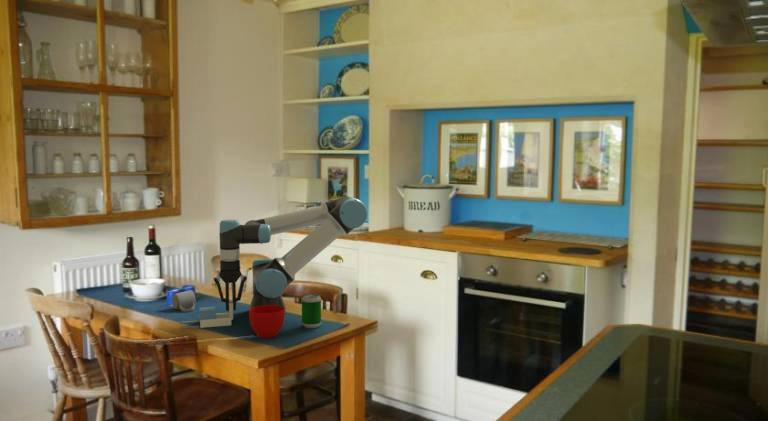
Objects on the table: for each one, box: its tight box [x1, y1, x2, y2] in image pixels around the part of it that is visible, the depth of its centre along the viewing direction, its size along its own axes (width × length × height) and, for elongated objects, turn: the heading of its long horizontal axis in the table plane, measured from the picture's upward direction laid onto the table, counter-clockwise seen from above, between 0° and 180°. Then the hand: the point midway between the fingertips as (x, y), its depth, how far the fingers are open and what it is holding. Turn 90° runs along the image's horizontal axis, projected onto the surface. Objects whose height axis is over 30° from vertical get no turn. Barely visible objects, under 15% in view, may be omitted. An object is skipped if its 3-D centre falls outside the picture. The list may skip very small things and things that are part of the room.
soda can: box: [301, 293, 322, 329], centre depth 246 cm, size 8×8×12 cm
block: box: [199, 306, 217, 321], centre depth 246 cm, size 6×6×6 cm
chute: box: [180, 312, 232, 330], centre depth 246 cm, size 18×10×4 cm, turn 107°
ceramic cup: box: [248, 305, 286, 339], centre depth 235 cm, size 13×17×10 cm
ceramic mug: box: [171, 289, 197, 313], centre depth 273 cm, size 11×8×8 cm
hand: (231, 318), depth 249 cm, fingers closed
